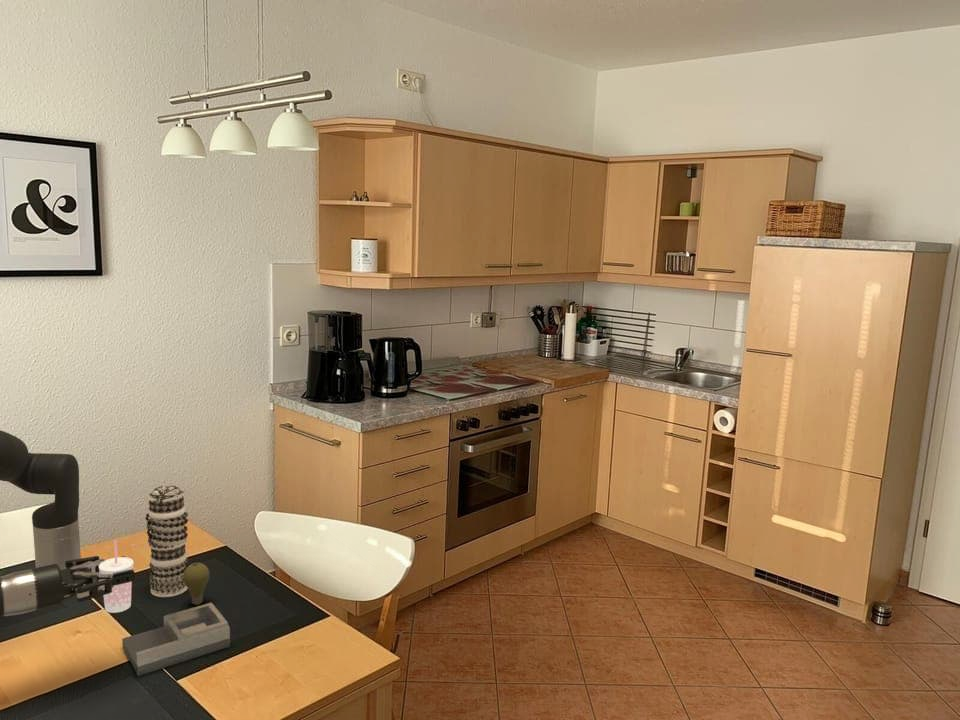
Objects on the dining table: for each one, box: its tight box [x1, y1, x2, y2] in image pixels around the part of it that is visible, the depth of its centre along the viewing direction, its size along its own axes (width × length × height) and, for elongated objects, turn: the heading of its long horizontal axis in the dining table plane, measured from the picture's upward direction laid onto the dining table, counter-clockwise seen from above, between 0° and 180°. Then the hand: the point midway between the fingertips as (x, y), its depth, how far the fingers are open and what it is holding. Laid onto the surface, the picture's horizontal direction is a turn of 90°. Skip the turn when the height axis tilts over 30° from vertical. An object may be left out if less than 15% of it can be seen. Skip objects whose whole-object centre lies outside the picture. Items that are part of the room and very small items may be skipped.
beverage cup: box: [99, 538, 134, 614], centre depth 145 cm, size 6×6×14 cm
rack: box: [121, 602, 231, 677], centre depth 154 cm, size 12×18×5 cm, turn 128°
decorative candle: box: [145, 485, 189, 598], centre depth 176 cm, size 9×9×25 cm
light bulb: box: [183, 562, 210, 606], centre depth 171 cm, size 6×6×10 cm
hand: (129, 568), depth 146 cm, fingers closed on beverage cup, 6 cm apart
